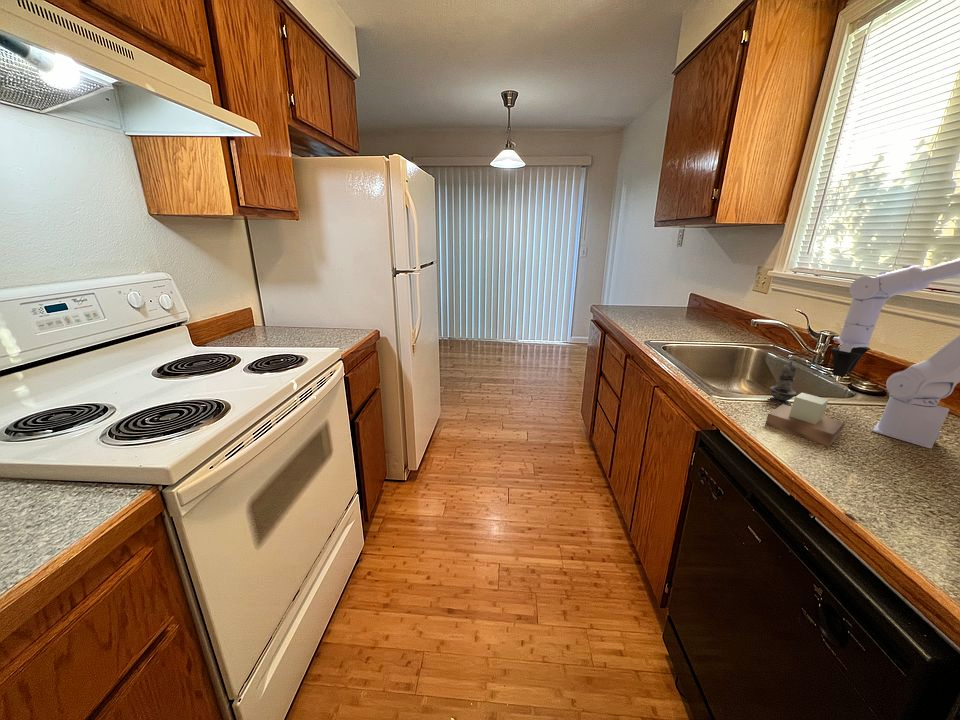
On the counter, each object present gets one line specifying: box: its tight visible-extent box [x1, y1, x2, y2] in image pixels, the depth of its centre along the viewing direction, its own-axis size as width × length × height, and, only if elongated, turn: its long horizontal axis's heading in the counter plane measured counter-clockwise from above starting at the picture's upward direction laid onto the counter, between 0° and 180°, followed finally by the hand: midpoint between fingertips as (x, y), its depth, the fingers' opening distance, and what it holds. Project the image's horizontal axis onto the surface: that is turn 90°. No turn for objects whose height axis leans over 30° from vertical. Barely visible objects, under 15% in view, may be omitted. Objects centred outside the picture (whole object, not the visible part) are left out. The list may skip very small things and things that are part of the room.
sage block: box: [789, 392, 829, 425], centre depth 89 cm, size 5×5×5 cm
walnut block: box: [764, 404, 845, 447], centre depth 90 cm, size 12×10×3 cm
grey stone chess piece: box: [767, 361, 797, 407], centre depth 104 cm, size 6×6×12 cm
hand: (842, 373), depth 102 cm, fingers open, 7 cm apart
